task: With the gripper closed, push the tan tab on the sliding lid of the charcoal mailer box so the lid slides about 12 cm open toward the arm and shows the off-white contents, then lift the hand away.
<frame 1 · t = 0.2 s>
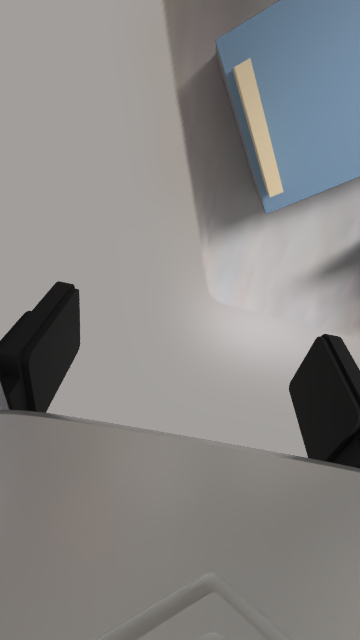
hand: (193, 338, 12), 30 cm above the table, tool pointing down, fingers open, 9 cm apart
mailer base: (326, 87, 30), on the table
lid: (357, 84, 23), point 8 cm above the table, slide at 0.0 cm
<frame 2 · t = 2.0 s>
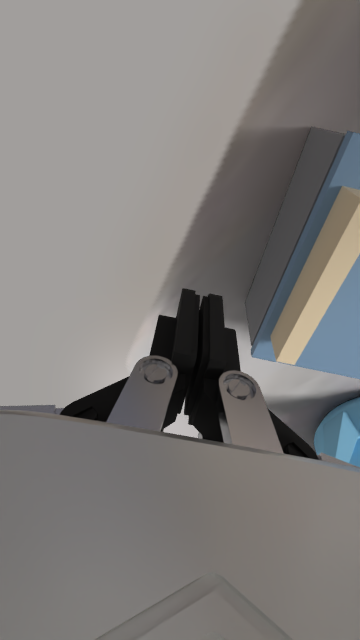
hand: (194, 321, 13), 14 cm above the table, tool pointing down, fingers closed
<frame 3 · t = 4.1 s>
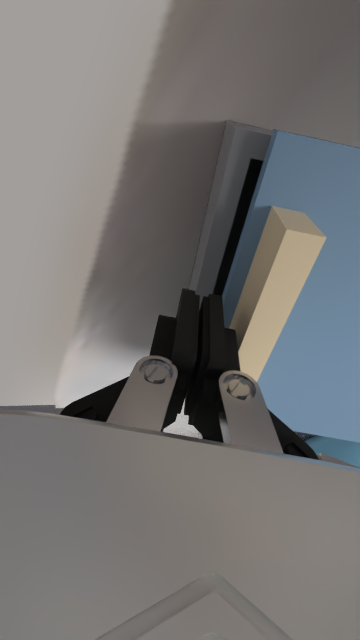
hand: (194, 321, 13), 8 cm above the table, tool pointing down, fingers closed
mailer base: (331, 275, 20), on the table
teapot: (341, 458, 32), on the table
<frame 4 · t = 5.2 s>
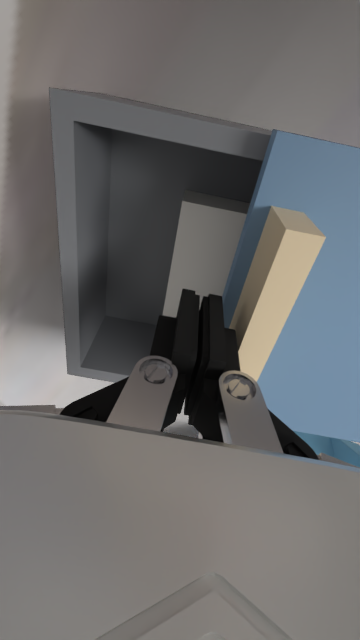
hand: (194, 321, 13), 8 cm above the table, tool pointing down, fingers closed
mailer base: (236, 256, 19), on the table
teapot: (283, 448, 32), on the table
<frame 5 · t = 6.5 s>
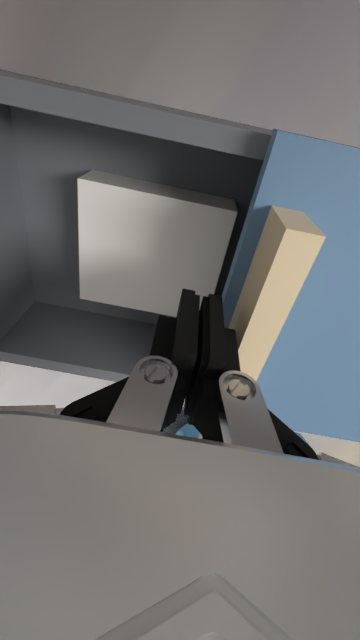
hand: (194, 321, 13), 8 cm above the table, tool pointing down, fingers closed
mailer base: (157, 240, 19), on the table
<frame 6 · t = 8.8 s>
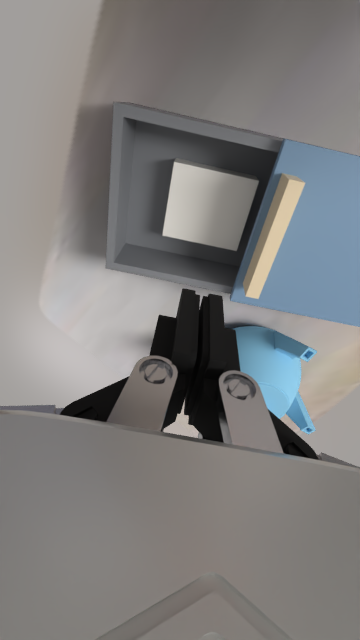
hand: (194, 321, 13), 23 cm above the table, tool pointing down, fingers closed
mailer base: (207, 201, 32), on the table
teapot: (247, 355, 44), on the table
lid: (354, 257, 26), point 8 cm above the table, slide at 13.1 cm
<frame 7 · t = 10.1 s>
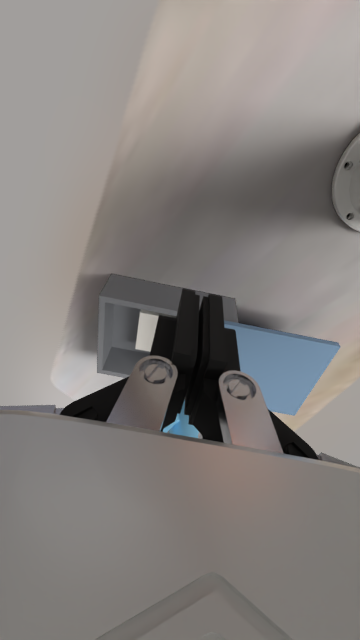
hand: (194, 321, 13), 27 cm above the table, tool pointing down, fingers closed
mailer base: (166, 324, 47), on the table
teapot: (205, 413, 59), on the table
lid: (253, 377, 41), point 8 cm above the table, slide at 13.1 cm
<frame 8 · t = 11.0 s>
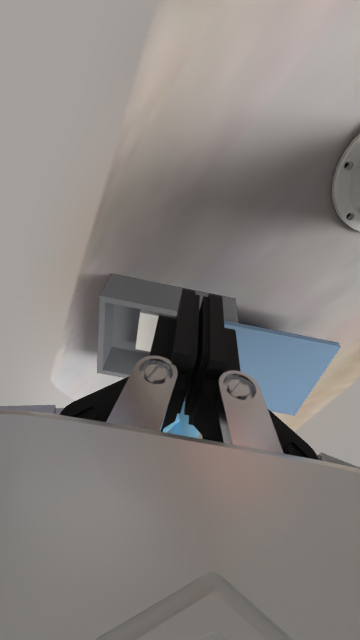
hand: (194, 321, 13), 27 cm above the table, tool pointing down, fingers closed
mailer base: (166, 324, 47), on the table
teapot: (205, 413, 59), on the table
lid: (254, 377, 41), point 8 cm above the table, slide at 13.1 cm
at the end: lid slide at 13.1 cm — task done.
